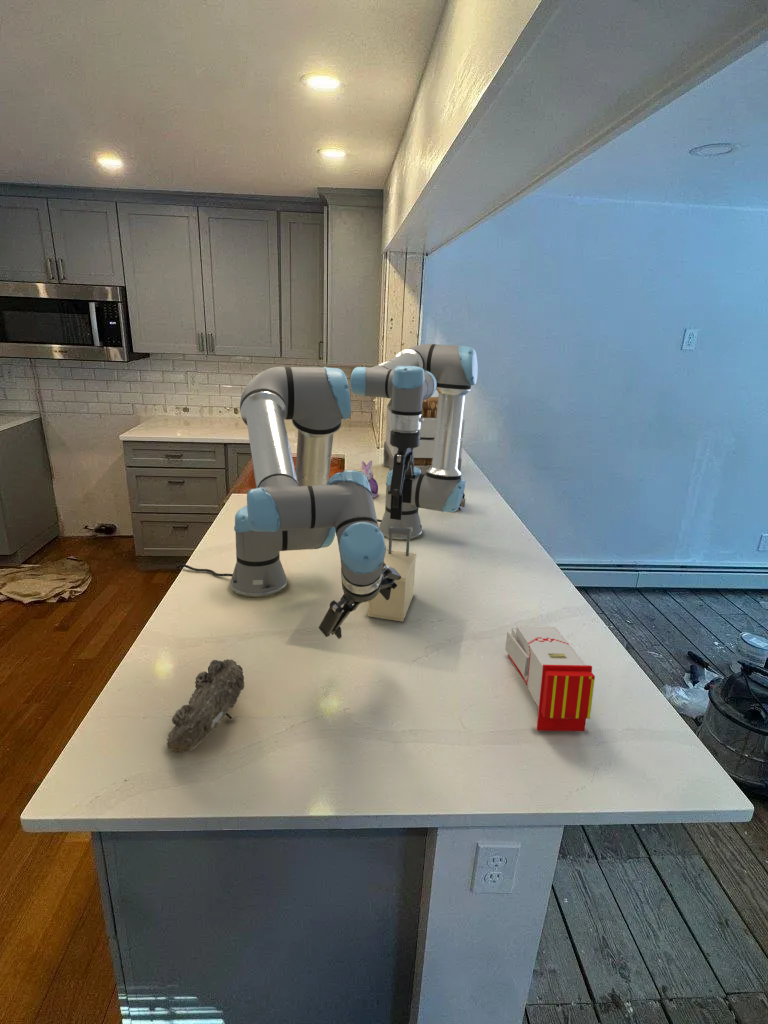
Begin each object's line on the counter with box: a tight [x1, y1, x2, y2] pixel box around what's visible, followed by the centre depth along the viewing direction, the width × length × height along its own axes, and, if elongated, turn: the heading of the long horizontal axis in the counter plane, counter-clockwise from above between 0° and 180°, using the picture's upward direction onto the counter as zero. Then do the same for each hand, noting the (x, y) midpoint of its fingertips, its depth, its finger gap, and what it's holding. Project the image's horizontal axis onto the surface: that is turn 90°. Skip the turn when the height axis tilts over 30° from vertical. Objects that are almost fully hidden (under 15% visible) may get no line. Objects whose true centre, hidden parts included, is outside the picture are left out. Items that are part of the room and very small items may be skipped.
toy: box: [504, 625, 596, 732], centre depth 119 cm, size 12×13×30 cm
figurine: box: [360, 460, 379, 499], centre depth 236 cm, size 9×10×15 cm
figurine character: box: [457, 493, 466, 511], centre depth 229 cm, size 7×8×15 cm
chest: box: [367, 558, 417, 622], centre depth 150 cm, size 14×9×11 cm, turn 167°
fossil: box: [166, 658, 245, 754], centre depth 106 cm, size 22×10×15 cm
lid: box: [384, 526, 417, 582], centre depth 147 cm, size 16×9×9 cm, turn 167°
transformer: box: [383, 396, 465, 473], centre depth 268 cm, size 34×33×41 cm
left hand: (360, 614), depth 124 cm, fingers open, 13 cm apart
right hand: (401, 510), depth 148 cm, fingers open, 13 cm apart
